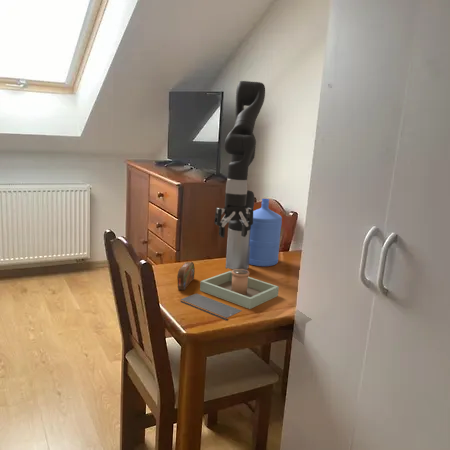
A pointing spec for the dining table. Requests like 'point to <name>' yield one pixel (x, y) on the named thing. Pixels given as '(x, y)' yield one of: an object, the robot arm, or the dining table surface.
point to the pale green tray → (222, 289)
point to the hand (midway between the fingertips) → (232, 236)
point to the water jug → (265, 236)
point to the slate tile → (210, 306)
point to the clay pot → (240, 281)
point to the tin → (185, 275)
